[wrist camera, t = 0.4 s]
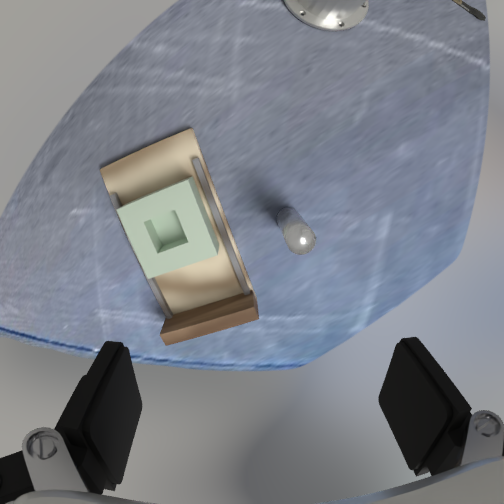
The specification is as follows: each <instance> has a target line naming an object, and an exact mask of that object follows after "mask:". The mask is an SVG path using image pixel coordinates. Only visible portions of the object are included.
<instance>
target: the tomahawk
mask: <svg viewBox="0 0 504 504" xmlns="http://www.w3.org/2000/svg"><path fill="white" fill-rule="evenodd" d="M452 1H454V2H455V3H457V4H458V5H459V6H461V7H462V8H464V9H465V10H466V11H468V12H469V13H471V14H473V15H475V16H476V17H477V18H478V19H480V20H484V21H485V19H486V18H485V16H484V15H483V14H482V13H481V12H480V11H478V10H477V9H475V8H473V7H471V6H469V5H467V4H466V3H465V2H463V1H462V0H452Z"/></svg>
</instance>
